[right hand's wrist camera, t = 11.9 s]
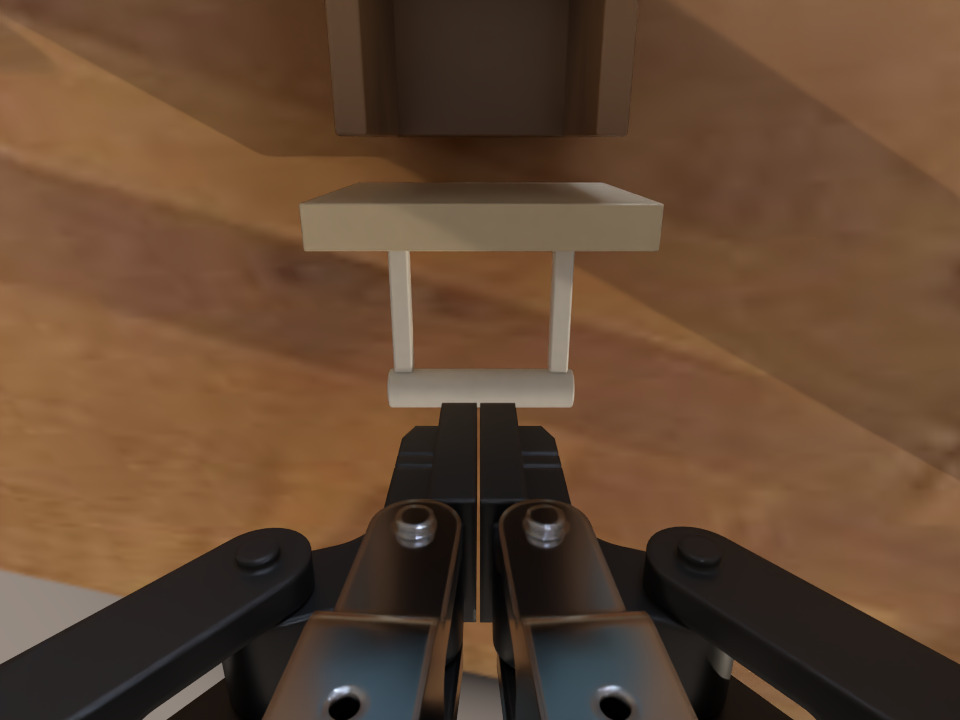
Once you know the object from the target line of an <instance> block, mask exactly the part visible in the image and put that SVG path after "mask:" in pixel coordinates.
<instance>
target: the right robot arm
mask: <svg viewBox="0 0 960 720" xmlns="http://www.w3.org/2000/svg"><path fill="white" fill-rule="evenodd" d="M476 564H477V403H442V405H441V412H440V419H439V426H415V427H414V428H413V429H412V430H411V431H410V432H409V433H408V434H406V435H405V436H404V437H403V438H402V441H401V445H400V449H399V453H398V456H397V460H396V464H395V468H394V472H393V476H392V479H391V483H390V487H389V491H388V495H387V499H386V502H385V506H384V508H383V509H382V510H380V511H379V512H378V513H377V514H376V515H375V516H374V517H373V518H372V520H371V521H370V523H369V526H368V528H367V530H366V533H365V534H364V535H362V536H361V537H359V538H357V539H355V540H352V541H350V542H347V543H344V544H340V545H337V546H332V547H328V548H323V549H318V550H314V551H311V546H310V543H309V541H308V540H307V538H306V537H304V536H303V535H302V534H300V533H298V532H296V531H293V530H290V529H284V528H265V529H260V530H255V531H251V532H248V533H245V534H242V535H240V536H238V537H235V538H233V539H231V540H229V541H228V542H226V543H224V544H222V545H220V546H218V547H217V548H215V549H213V550H211V551H209V552H207V553H205V554H204V555H202V556H200V557H198V558H196V559H194V560H192V561H191V562H189V563H187V564H185V565H183V566H181V567H180V568H178V569H176V570H174V571H172V572H170V573H168V574H167V575H165V576H163V577H161V578H159V579H157V580H155V581H154V582H152V583H150V584H148V585H146V586H144V587H143V588H141V589H139V590H137V591H135V592H133V593H131V594H130V595H128V596H126V597H124V598H122V599H120V600H118V601H117V602H115V603H113V604H111V605H109V606H107V607H106V608H104V609H102V610H100V611H98V612H96V613H94V614H93V615H91V616H89V617H87V618H85V619H83V620H82V621H80V622H78V623H76V624H74V625H72V626H70V627H69V628H67V629H65V630H63V631H61V632H59V633H57V634H56V635H54V636H52V637H50V638H48V639H46V640H45V641H43V642H41V643H39V644H37V645H35V646H33V647H32V648H30V649H28V650H26V651H24V652H22V653H21V654H19V655H17V656H15V657H13V658H11V659H9V660H8V661H6V662H4V663H2V664H0V720H142V719H143V718H144V717H146V716H147V715H148V714H149V713H150V712H152V711H153V710H154V709H156V708H157V707H158V706H160V705H161V704H163V703H164V702H166V701H167V700H169V699H170V698H171V697H173V696H174V695H176V694H177V693H179V692H180V691H181V690H183V689H184V688H186V687H187V686H189V685H190V684H191V683H193V682H194V681H196V680H197V679H199V678H200V677H201V676H203V675H204V674H206V673H207V672H209V671H210V670H212V669H213V668H214V667H216V666H217V665H219V664H220V663H222V665H223V670H224V675H225V678H224V679H222V680H221V681H220V682H218V683H217V684H215V685H214V686H213V687H211V688H210V689H209V690H207V691H206V692H204V693H203V694H202V695H200V696H199V697H198V698H196V699H195V700H193V701H192V702H191V703H189V704H188V705H186V706H185V707H184V708H182V709H181V710H179V711H178V712H177V713H175V714H174V715H173V716H171V717H170V718H168V719H167V720H457V713H458V705H459V696H460V688H461V680H462V672H463V622H476ZM480 622H492V623H493V643H494V647H495V649H496V651H497V672H498V680H499V688H500V697H501V705H502V713H503V720H793V719H792V718H790V717H789V716H787V715H786V714H785V713H783V712H782V711H781V710H779V709H778V708H776V707H775V706H774V705H772V704H771V703H769V702H768V701H767V700H765V699H764V698H762V697H761V696H760V695H758V694H757V693H756V692H754V691H753V690H751V689H750V688H749V687H747V686H746V685H744V684H743V683H742V682H740V681H739V680H738V679H736V678H735V677H733V676H732V675H731V672H732V667H733V662H734V660H736V661H737V662H738V663H740V664H741V665H743V666H744V667H746V668H747V669H748V670H750V671H751V672H753V673H754V674H756V675H757V676H758V677H760V678H761V679H763V680H764V681H766V682H767V683H768V684H770V685H771V686H773V687H774V688H776V689H777V690H779V691H780V692H781V693H783V694H784V695H786V696H787V697H789V698H790V699H791V700H793V701H794V702H796V703H797V704H799V705H800V706H801V707H803V708H804V709H805V710H807V711H808V712H809V713H810V714H811V715H812V716H814V717H815V719H816V720H960V664H958V663H956V662H954V661H952V660H951V659H949V658H947V657H945V656H943V655H941V654H939V653H938V652H936V651H934V650H932V649H930V648H928V647H927V646H925V645H923V644H921V643H919V642H917V641H915V640H914V639H912V638H910V637H908V636H906V635H904V634H903V633H901V632H899V631H897V630H895V629H893V628H891V627H890V626H888V625H886V624H884V623H882V622H880V621H878V620H877V619H875V618H873V617H871V616H869V615H867V614H866V613H864V612H862V611H860V610H858V609H856V608H854V607H853V606H851V605H849V604H847V603H845V602H843V601H841V600H840V599H838V598H836V597H834V596H832V595H830V594H829V593H827V592H825V591H823V590H821V589H819V588H817V587H816V586H814V585H812V584H810V583H808V582H806V581H804V580H803V579H801V578H799V577H797V576H795V575H793V574H792V573H790V572H788V571H786V570H784V569H782V568H780V567H779V566H777V565H775V564H773V563H771V562H769V561H768V560H766V559H764V558H762V557H760V556H758V555H756V554H755V553H753V552H751V551H749V550H747V549H745V548H743V547H742V546H740V545H738V544H736V543H734V542H732V541H731V540H729V539H727V538H725V537H723V536H721V535H719V534H716V533H713V532H711V531H708V530H704V529H700V528H694V527H672V528H667V529H664V530H661V531H659V532H657V533H655V534H654V535H653V536H652V537H651V538H650V539H649V541H648V544H647V548H646V552H645V551H641V550H636V549H632V548H627V547H622V546H618V545H615V544H611V543H608V542H605V541H603V540H601V539H599V538H597V537H596V535H595V533H594V530H593V528H592V526H591V523H590V521H589V520H588V518H587V517H586V516H585V515H584V514H583V513H582V512H581V511H580V510H578V509H577V508H575V507H573V506H571V502H570V498H569V494H568V490H567V486H566V482H565V478H564V474H563V470H562V468H561V462H560V458H559V456H558V450H557V446H556V442H555V438H554V437H552V436H551V435H550V434H549V433H548V432H547V431H546V430H545V429H544V428H543V427H542V426H518V421H517V413H516V406H515V403H480Z"/></svg>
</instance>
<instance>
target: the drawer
mask: <svg viewBox="0 0 960 720" xmlns="http://www.w3.org/2000/svg"><path fill="white" fill-rule="evenodd" d="M638 4H639V0H325V10H326V23H327V35H328V48H329V60H330V72H331V85H332V97H333V110H334V122H335V132H336V134H337V135H338V136H359V137H615V136H626V135H627V133H628V123H629V111H630V99H631V88H632V76H633V64H634V52H635V40H636V28H637V16H638ZM663 209H664V205H663V204H662V203H659V202H656V201H654V200H651V199H648V198H645V197H642V196H639V195H637V194H634V193H631V192H628V191H625V190H622V189H619V188H617V187H614V186H611V185H608V184H605V183H495V182H359V183H356V184H353V185H350V186H348V187H345V188H342V189H339V190H336V191H334V192H331V193H328V194H325V195H322V196H319V197H317V198H314V199H311V200H308V201H305V202H303V203H300V204H299V210H300V220H301V229H302V239H303V248H304V251H388V265H389V283H390V302H391V320H392V338H393V357H394V369H390V371H389V375H388V387H387V391H388V402H389V405H390V407H441V405H442V403H477V407H480V403H515V406H516V407H572V405H573V401H574V376H573V372H572V370H571V369H568V356H569V338H570V321H571V304H572V286H573V269H574V252H575V251H659V245H660V236H661V227H662V218H663ZM410 251H553V255H552V277H551V300H550V322H549V345H548V369H413V368H414V346H413V322H412V298H411V274H410Z"/></svg>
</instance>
